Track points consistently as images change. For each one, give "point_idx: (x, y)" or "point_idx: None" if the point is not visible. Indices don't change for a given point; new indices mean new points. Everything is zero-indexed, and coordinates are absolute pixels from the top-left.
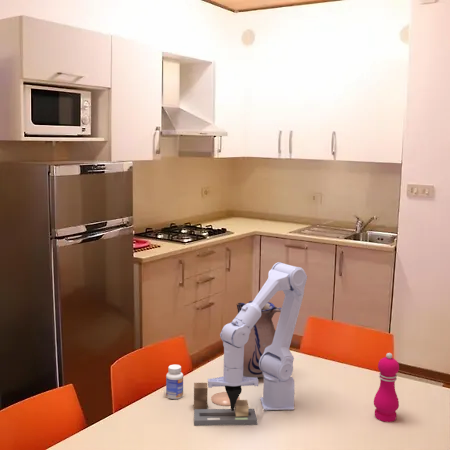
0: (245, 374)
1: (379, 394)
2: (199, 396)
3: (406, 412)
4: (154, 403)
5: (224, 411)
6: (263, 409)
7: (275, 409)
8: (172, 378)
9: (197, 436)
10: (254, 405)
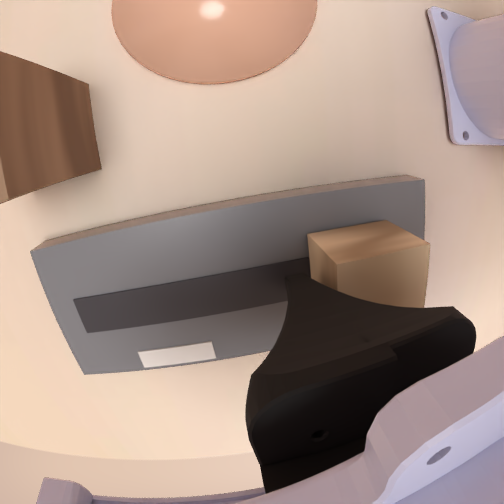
0: None
1: None
2: (3, 202)
3: None
4: None
5: (230, 249)
6: (451, 139)
7: (491, 144)
8: None
9: (141, 424)
10: (406, 73)
